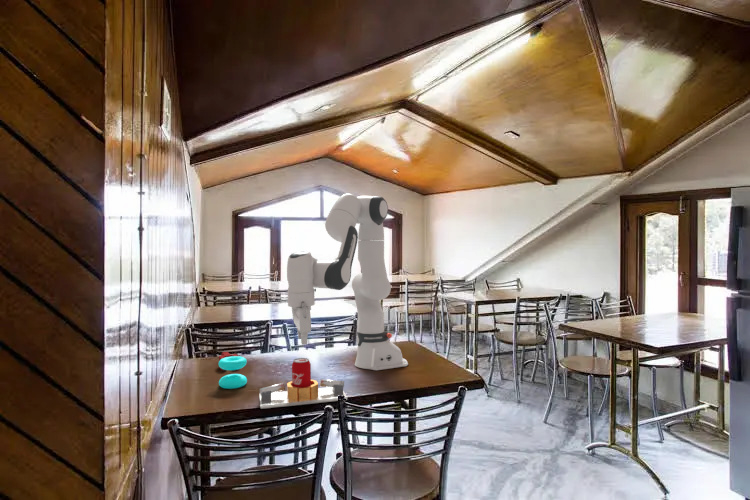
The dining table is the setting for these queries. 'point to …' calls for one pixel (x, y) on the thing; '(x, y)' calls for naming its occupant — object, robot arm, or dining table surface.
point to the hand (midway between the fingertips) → (302, 341)
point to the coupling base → (301, 394)
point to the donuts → (232, 379)
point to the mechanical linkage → (225, 354)
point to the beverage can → (301, 372)
